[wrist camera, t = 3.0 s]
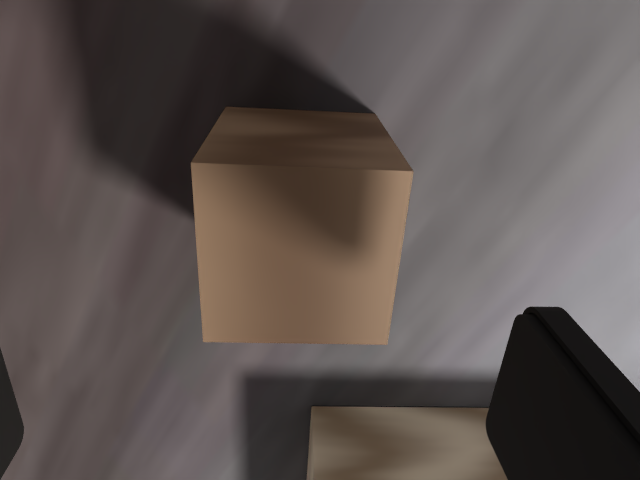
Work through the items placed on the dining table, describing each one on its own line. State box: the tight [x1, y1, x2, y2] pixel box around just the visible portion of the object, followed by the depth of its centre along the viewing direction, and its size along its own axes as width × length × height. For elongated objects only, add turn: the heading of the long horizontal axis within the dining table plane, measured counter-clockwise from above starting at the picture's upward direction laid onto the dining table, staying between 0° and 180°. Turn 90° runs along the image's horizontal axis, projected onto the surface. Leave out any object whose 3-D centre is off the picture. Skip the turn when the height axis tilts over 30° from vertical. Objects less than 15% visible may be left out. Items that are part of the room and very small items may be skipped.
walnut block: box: [191, 107, 413, 345], centre depth 15 cm, size 5×5×6 cm
